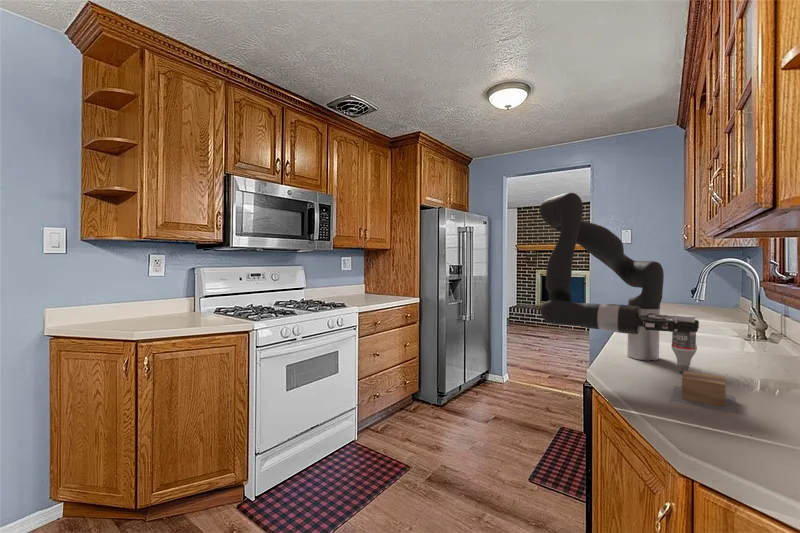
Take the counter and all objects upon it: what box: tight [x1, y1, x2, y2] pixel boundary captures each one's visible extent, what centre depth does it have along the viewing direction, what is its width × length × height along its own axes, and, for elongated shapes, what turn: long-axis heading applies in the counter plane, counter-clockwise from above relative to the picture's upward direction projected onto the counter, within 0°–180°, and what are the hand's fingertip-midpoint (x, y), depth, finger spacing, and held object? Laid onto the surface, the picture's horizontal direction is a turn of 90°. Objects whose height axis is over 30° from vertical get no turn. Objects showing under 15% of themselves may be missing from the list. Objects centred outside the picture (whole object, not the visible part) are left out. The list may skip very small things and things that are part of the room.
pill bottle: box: [671, 313, 697, 351], centre depth 96 cm, size 5×5×8 cm
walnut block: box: [681, 370, 726, 407], centre depth 94 cm, size 8×8×5 cm
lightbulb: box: [671, 343, 698, 374], centre depth 116 cm, size 6×6×11 cm
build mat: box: [670, 385, 738, 414], centre depth 94 cm, size 14×12×1 cm
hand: (697, 326), depth 94 cm, fingers closed on pill bottle, 4 cm apart
